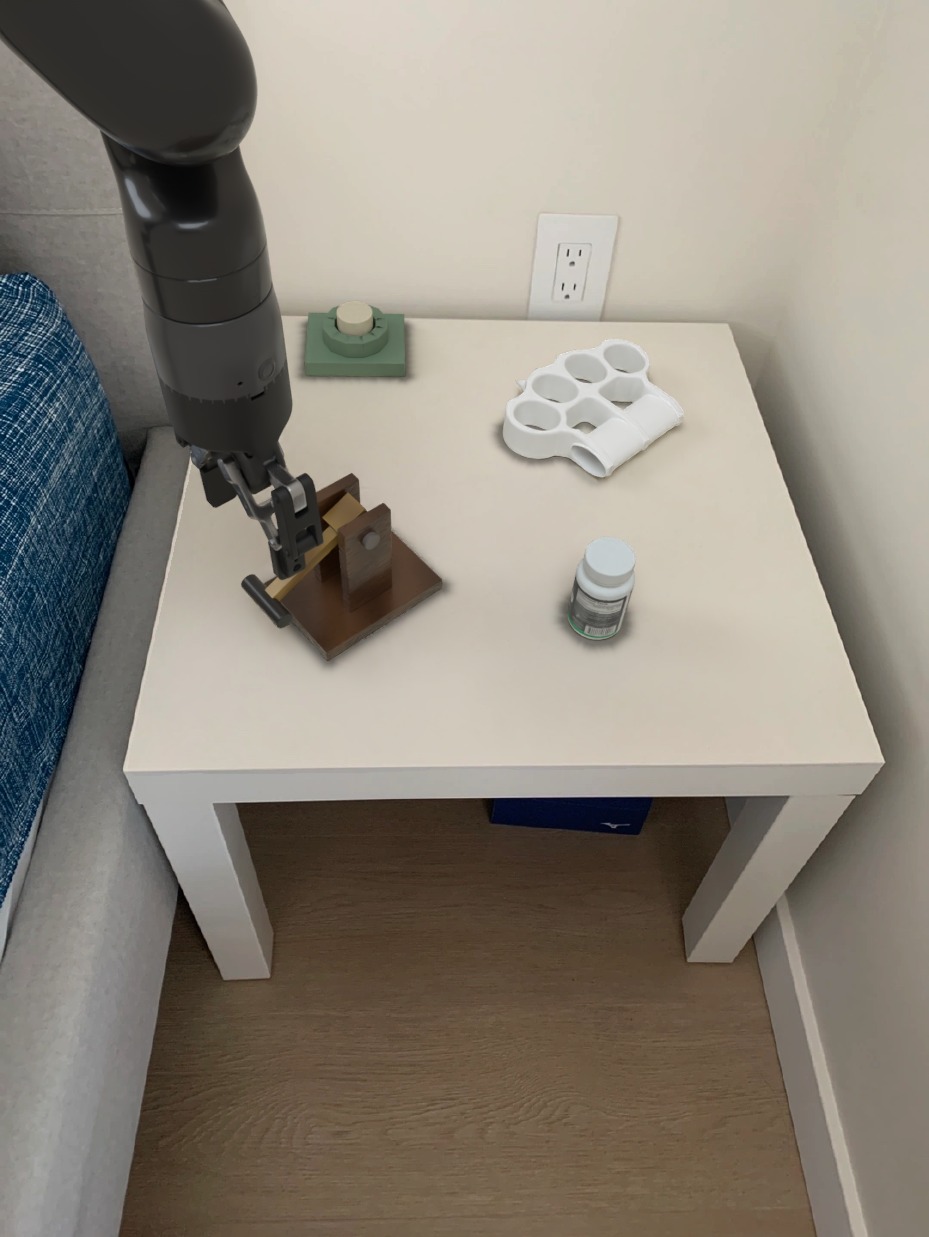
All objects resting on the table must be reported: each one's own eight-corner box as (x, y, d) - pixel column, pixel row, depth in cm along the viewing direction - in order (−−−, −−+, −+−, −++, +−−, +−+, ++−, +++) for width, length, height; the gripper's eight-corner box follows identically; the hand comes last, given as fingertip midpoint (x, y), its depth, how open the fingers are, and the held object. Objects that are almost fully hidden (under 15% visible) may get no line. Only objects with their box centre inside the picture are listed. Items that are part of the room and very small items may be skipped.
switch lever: (285, 632, 76) (271, 623, 73) (249, 592, 78) (234, 582, 75) (387, 532, 76) (376, 519, 74) (348, 494, 78) (337, 481, 76)
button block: (306, 375, 99) (303, 347, 96) (309, 325, 103) (307, 297, 101) (405, 376, 99) (404, 349, 97) (404, 327, 104) (404, 299, 101)
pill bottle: (590, 587, 85) (606, 522, 78) (633, 619, 83) (654, 556, 76) (554, 618, 82) (568, 554, 76) (598, 651, 81) (615, 589, 74)
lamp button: (336, 337, 98) (335, 322, 96) (337, 314, 100) (336, 300, 98) (372, 337, 98) (372, 323, 97) (373, 315, 100) (372, 300, 99)
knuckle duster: (580, 503, 90) (470, 420, 96) (700, 415, 98) (591, 344, 104) (586, 477, 88) (472, 394, 93) (708, 390, 95) (597, 317, 101)
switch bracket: (327, 661, 79) (318, 578, 70) (264, 592, 82) (248, 505, 74) (442, 588, 84) (446, 502, 75) (377, 526, 87) (375, 437, 79)
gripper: (100, 315, 58) (157, 501, 71) (232, 448, 52) (268, 625, 65) (209, 269, 61) (245, 456, 74) (346, 390, 55) (358, 570, 68)
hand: (256, 535), depth 70 cm, fingers open, 8 cm apart
